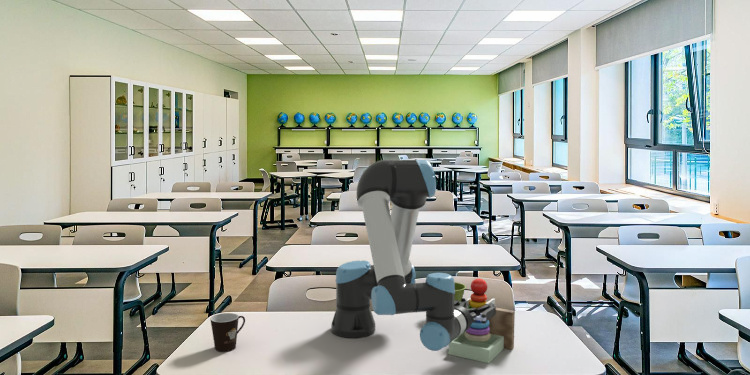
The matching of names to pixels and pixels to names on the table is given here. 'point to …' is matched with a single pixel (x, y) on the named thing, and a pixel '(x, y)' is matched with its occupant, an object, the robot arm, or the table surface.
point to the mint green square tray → (477, 348)
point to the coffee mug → (225, 331)
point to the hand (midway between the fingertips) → (484, 301)
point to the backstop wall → (503, 326)
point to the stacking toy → (478, 299)
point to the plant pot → (459, 291)
